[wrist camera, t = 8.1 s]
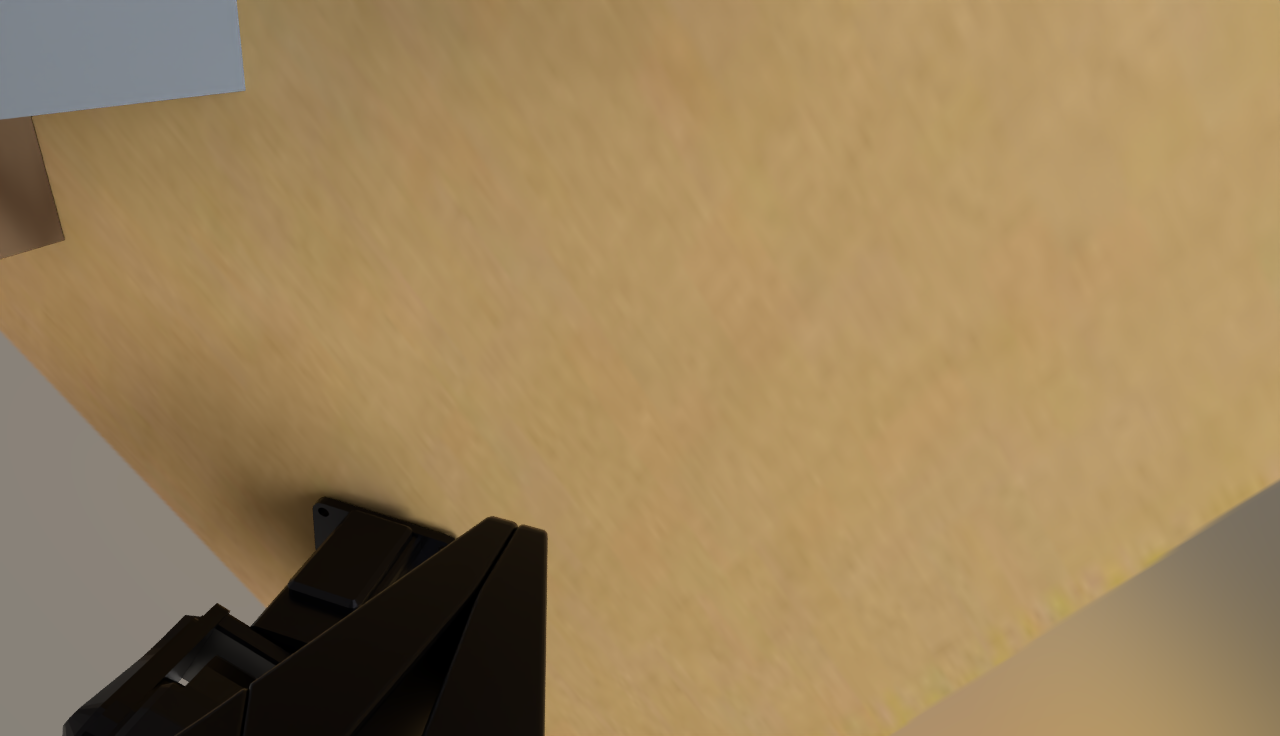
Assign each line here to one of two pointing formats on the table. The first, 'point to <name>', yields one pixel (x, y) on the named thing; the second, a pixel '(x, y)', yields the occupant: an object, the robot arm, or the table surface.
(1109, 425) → the table surface
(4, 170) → the board
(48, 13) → the block
